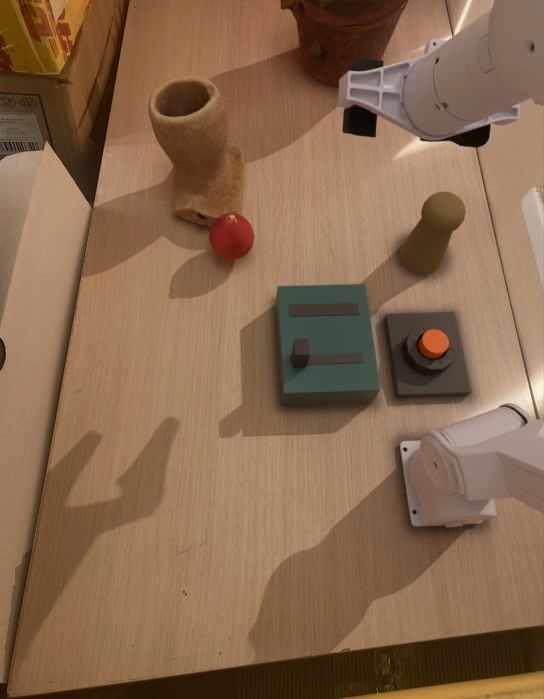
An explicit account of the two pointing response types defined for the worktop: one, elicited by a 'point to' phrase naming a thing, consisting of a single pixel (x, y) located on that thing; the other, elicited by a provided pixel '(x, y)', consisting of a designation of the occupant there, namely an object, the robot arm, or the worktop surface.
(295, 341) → the slider knob
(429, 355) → the button
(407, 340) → the block
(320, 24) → the brown plant pot
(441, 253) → the olive pawn
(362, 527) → the worktop surface
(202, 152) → the tan hollow curved piece
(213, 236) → the onion
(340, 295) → the green slider box
